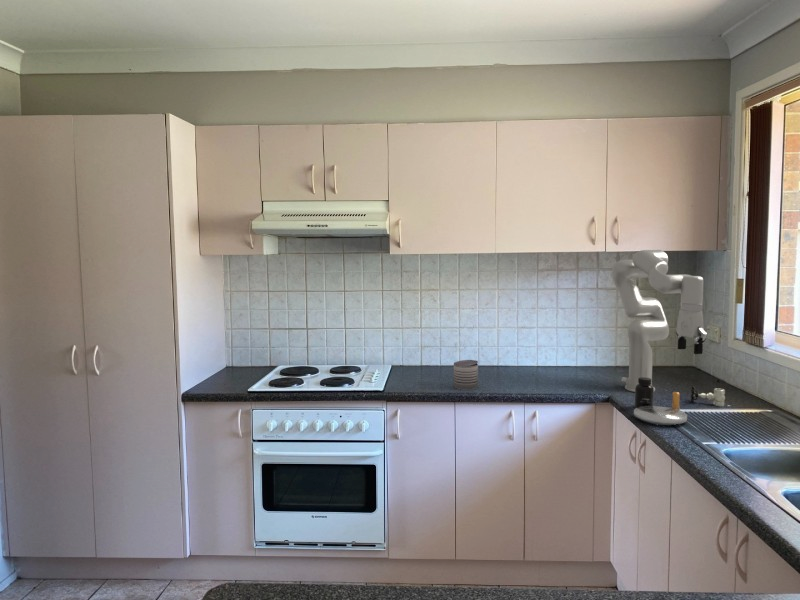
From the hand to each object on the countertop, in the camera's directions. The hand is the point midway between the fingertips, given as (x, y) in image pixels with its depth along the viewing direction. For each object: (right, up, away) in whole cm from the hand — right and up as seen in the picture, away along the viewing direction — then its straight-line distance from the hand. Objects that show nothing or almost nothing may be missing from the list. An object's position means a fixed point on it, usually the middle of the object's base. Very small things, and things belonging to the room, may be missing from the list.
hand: (689, 351), depth 219 cm
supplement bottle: (-15, -23, +6) cm, 29 cm away
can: (-82, -21, +43) cm, 95 cm away
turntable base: (-16, -25, -10) cm, 31 cm away
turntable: (-15, -23, -9) cm, 29 cm away
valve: (+13, -23, +10) cm, 28 cm away
